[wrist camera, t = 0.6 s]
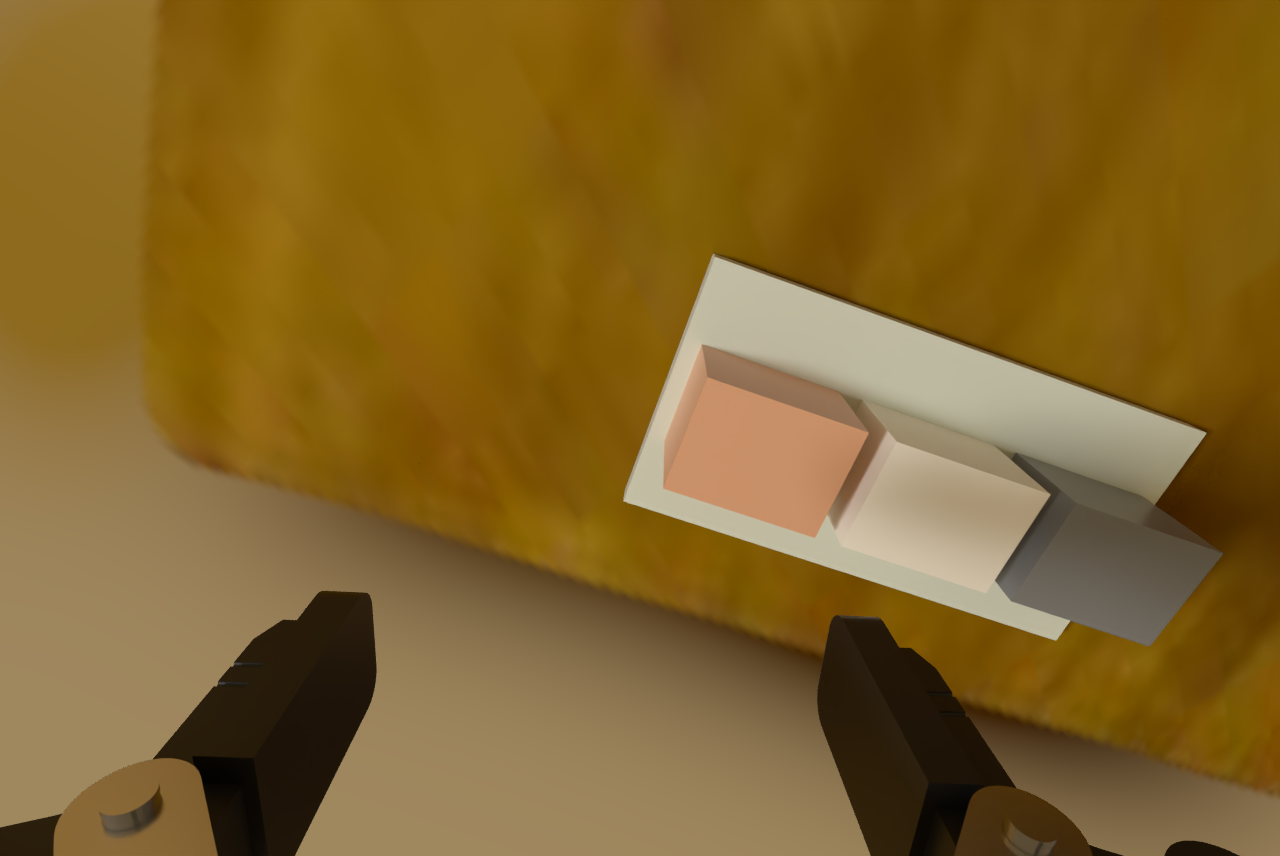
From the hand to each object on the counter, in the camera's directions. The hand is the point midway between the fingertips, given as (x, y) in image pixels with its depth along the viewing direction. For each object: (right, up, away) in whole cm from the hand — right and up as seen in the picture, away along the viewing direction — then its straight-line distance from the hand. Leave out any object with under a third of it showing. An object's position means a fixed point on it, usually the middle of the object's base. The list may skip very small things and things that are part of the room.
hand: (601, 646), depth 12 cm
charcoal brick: (+20, 0, +19) cm, 28 cm away
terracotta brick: (+6, +4, +18) cm, 19 cm away
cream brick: (+13, +2, +19) cm, 23 cm away
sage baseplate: (+13, +2, +20) cm, 24 cm away
